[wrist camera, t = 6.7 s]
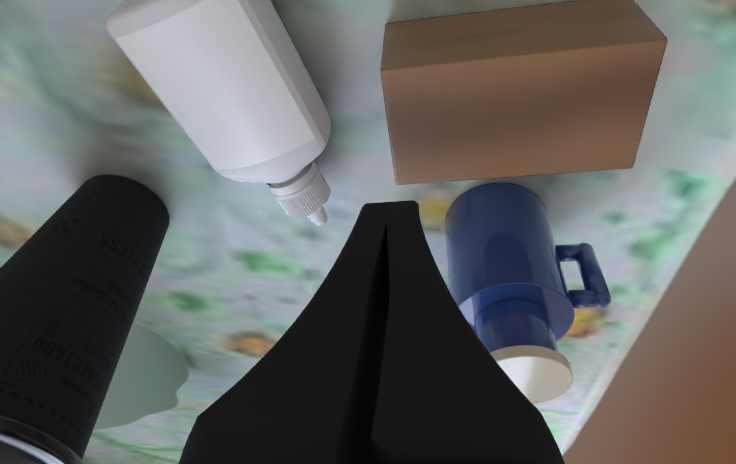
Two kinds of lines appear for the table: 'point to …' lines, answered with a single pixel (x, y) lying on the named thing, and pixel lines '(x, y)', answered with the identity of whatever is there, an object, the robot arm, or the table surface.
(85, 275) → the drinking cup
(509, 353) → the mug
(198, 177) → the table surface
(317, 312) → the robot arm
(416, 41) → the oak block
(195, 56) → the eye dropper bottle
